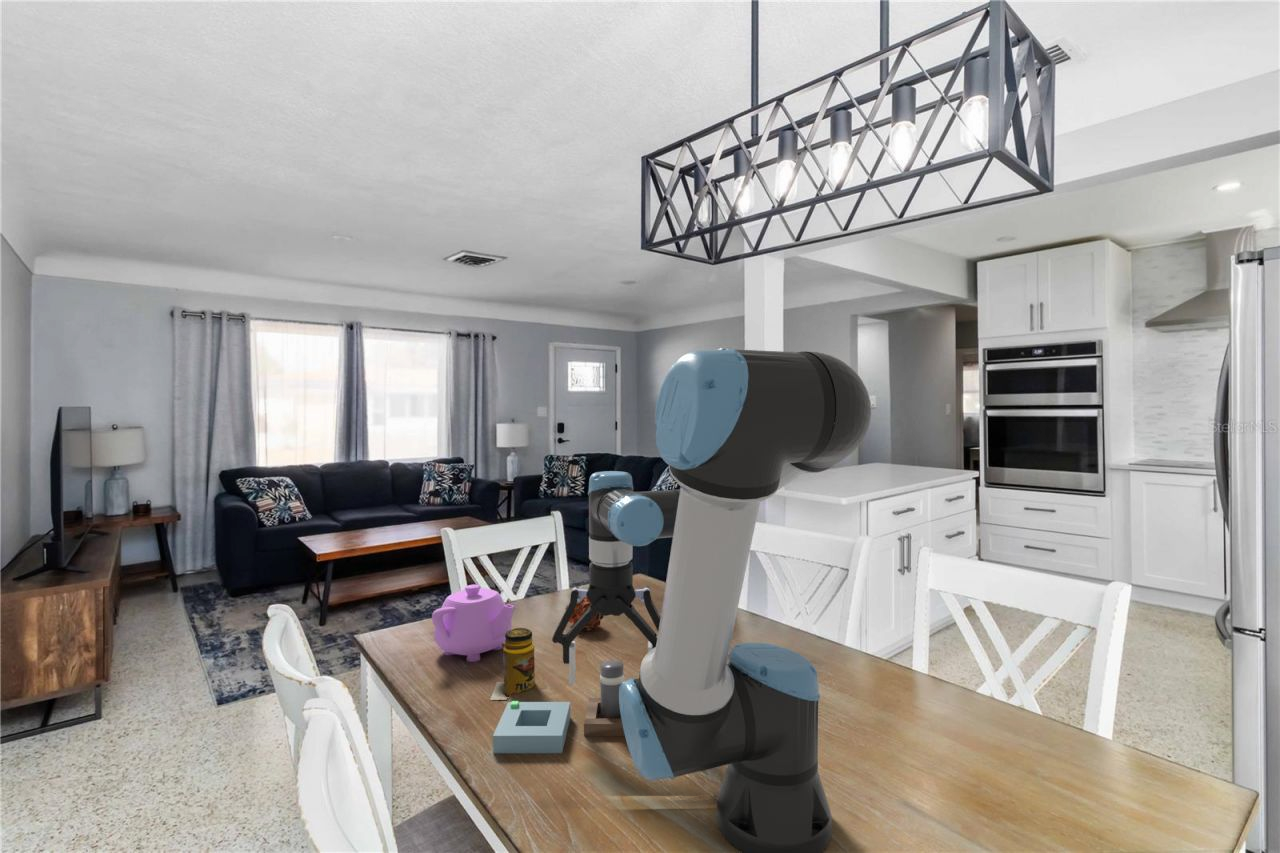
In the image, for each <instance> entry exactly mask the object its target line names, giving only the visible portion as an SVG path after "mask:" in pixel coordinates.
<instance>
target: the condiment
mask: <svg viewBox="0 0 1280 853" xmlns="http://www.w3.org/2000/svg"><path fill="white" fill-rule="evenodd" d="M505 639H506V640H505V641H504V646H503V648H502V650H503V651H502V652H503V654H502V656H503V658H502V659H503V672H502V673H503V681H496V683H495V684H496V685H495V686H494V690H493V692H492V694H491V697H490V699H489V700H490V701H499V700H502V701H505V700H509V699H510V697H511V696H512V695H511V694H513V693H514V694H516V693H517V694H521V693H525V692H528V691H531V690H532V689H533V688H534V687H535V685H536V684H535V683H536V679H535V676H536V674H535V670H536V669H535V667H536V666H535V645H534V642H533V632H532V630H531V629H529V628H525V627H516V628H511V630H509V631H507V632H506V634H505ZM501 694H502V695H501ZM503 695H505V696H506V697H509V698H508V699H507V698H506V697H504V696H503Z"/></svg>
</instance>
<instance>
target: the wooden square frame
mask: <svg viewBox="0 0 1280 853" xmlns="http://www.w3.org/2000/svg"><path fill="white" fill-rule="evenodd" d="M583 737H625V734H624V729H623V724H622V719H621V718H601V697H589V698H588V700H587V706H586V711H585V717H584V723H583Z"/></svg>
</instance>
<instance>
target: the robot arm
mask: <svg viewBox="0 0 1280 853" xmlns="http://www.w3.org/2000/svg"><path fill="white" fill-rule="evenodd" d="M656 401H657V402H656V405H655V406H656V407H655V414H654V425H655V426H656V432H655V434H654V435H655V441H656V446H657V450H658V452H659V455H660V457H661V458H662V460H663V462H665V463H666V464H667V465H668V468H669V469H668V470H669V474H670V475H671V477H672V479H673V480H674V481H675V482H676V483H677V484H678V485H679V486H680V487H679V489H665V490H648V491H647V490H646V491H634V483H633V477H632V474H631V473H629V472H626V471H617V470H609V471H608V470H606V471H605V470H604V471H596V472H594V473H592V474H591V475H590V477H589V481H588V491H587V495H588V532H589V536H588V553H589V554H588V559H589V560H590V561H591V562H590V563H589V565H588V566H589V567H588V568H589V570H588V574H589V575H588V576H589V578H588V579H589V580H588V581H589V583H588V584H589V585H588V589H584V588H580V587H579V586H577V585H575V586H573V587H572V590H571V592H570V598H569V599H570V600H569V603H568V605H567V606H568V607H567V606H566V607H567V609H566V610H565V611H564V613H563V615H562V617H561V619H560V621H559V623H558V625H557V626H556V629H555V631H554V633H553V636H552V639H551V641H552V642H553V643H554V644H560V645H562V660H563V661H562V662H563V664H565V665H566V664H568V666H569V667H568V668H569V671H568V673H569V674H568V675H569V678H568V679H569V681H568V682H569V685H574V684H575V681H576V677H577V676H576V641H575V639H576V638H577V637H578V635H579V634H580V633H581V632H582V631H583V628H584V627H585V626H586V625H587V624H588V622H589V621H590V620H591V619H592V618H593V617H594V616H595V615H596V614H597V613H599V614H601V615H602V616H604V617H606V616H610V615H611V616H615V617H619V616H621V615H623V614H624V615H625V616H626V617H627V619H629V620H630V621H631V622H632V623H633V624H634V625H635V627H636V628H637V629H638V631H639V632H640V633H642V635H643V636H644V637H645V639H647V653H646V654H645V656H644V657H643V659H642V661H641V663H640V668H639V676H638V678H633V677H632V678H628V679H627V680H624V681H623V682H622V684H621V685H620V689H619V705H620V713H621V719H622V724H623V729H624V734H625V736H624V737H625V740H626V745H627V748H628V751H629V753H630V757H631V760H632V763H633V765H634V766H635V768H636V770H637V772H638V773H639V774H640V775H641V777H643V778H644V779H646V780H648V781H651V782H652V781H660V780H664V779H665V780H666V779H671V780H674V779H676V778H678V777H682V776H685V775H690V774H694V773H698V772H702V771H706V770H710V769H715V768H718V767H719V768H720V767H724V766H727V767H726V770H725V773H724V776H723V779H722V782H721V784H720V788H719V791H718V793H717V798H716V822H717V825H718V828H719V830H720V832H721V834H722V835H723V836H724V838H725V839H726V840H727V841H728V842H729V843H730V844H731V845H732V846H734V847H735V848H736V849H738V850H739V851H741V852H743V853H822V852H823V851H824V850H826V848H827V847H828V845H829V843H830V842H831V839H832V812H831V807H830V805H829V802H828V798H827V796H826V793H825V789H824V786H823V783H822V779H821V777H820V773H819V766H818V765H819V759H818V758H819V701H820V696H821V695H820V692H819V681H818V680H819V679H818V671H817V670H816V669H817V668H816V667H815V665H814V664H813V663H812V662H811V661H810V660H809V659H808V658H807V657H806V656H804V655H802V654H801V653H799V652H797V651H794V650H792V649H789V648H786V647H783V646H779V645H775V644H771V643H763V642H743V643H742V642H741V643H738V644H735V645H734V646H732V648H730V647H731V642H732V637H733V633H734V628H735V623H736V618H737V614H738V610H739V604H740V599H741V594H742V591H743V586H744V580H745V576H746V570H747V566H748V562H749V556H750V551H751V547H752V542H753V538H754V537H753V536H754V532H755V529H756V528H755V527H756V523H757V518H758V514H759V508H760V504H761V502H763V501H765V500H767V499H769V498H771V497H773V496H774V495H775V494H776V493H777V492H778V491H779V490H781V489H782V488H784V487H786V486H787V485H789V484H790V483H792V482H793V481H794V480H796V479H797V478H799V477H801V476H802V475H804V474H806V473H807V474H808V473H809V474H818V473H822V472H825V471H826V470H829V469H830V468H832V467H833V466H835V465H837V464H839V463H840V462H841V461H843V460H845V459H846V458H847V457H849V456H850V455H851V454H853V453H854V451H856V450H857V449H858V448H859V446H860V445H861V444H862V442H863V441H864V439H865V437H866V435H867V433H868V430H869V427H870V424H871V417H872V408H871V407H872V405H871V400H870V396H869V391H868V389H867V387H866V386H865V383H864V382H863V380H862V378H861V377H860V376H859V374H858V373H857V372H856V371H855V370H854V369H853V368H852V367H851V366H849V365H848V364H847V363H846V362H845V361H843V360H841V359H839V358H837V357H834V356H833V355H830V354H827V353H824V352H823V353H822V352H818V351H780V350H779V351H777V350H775V351H774V350H756V349H755V350H754V349H733V348H730V347H722V348H719V349H712V350H711V349H709V350H708V349H707V350H694V351H690V352H688V353H686V354H684V355H683V356H681V357H680V358H678V360H677V361H676V362H675V363H674V364H672V366H671V367H670V369H669V370H668V372H667V374H666V375H665V377H664V380H663V381H662V385H661V386H660V390H659V394H658V397H657V400H656ZM667 538H672V540H671V547H670V555H669V561H668V567H667V574H666V581H665V586H664V594H663V599H662V606H661V611H660V612H661V613H659V611H658V608H657V607H656V605H655V604H654V601H653V599H652V592H651V587H650V586H644V587H643V588H641V589H640V588H639V589H638V588H637V589H635V588H634V585H633V582H634V581H633V576H634V575H633V570H634V567H633V566H634V564H633V562H632V561H631V560H633V554H634V553H633V549H634V548H633V547H643V546H644V547H645V546H648V545H649V544H651V543H652V542H654V541H656V540H657V539H667ZM584 597H587V599H588V600H589V601H590V603H591V605H590V607H589V608H588V610H587V611H586V612H585V613H584V614H583V615H582V617H581V618H580V619H579V620H578V621H577V622H576V624H575V625H574V626H573V625H572V627H571V628H570V630H569V631H568V632H567V633H565V634H564V631H565V629H566V628H567V626H568V624H569V623H570V622H569V620H570V618H571V616H572V614H573V612H574V610H575V608H576V605H577V602H581V601H582V599H583V598H584ZM636 598H638V600H639V601H640V602H641V603H644V605H645V608H646V610H647V612H648V615H649V616H650V618H651V620H652V622H653V624H654V626H655V628H656V631H657V633H656V631H655V630H654V629H653V628H652V627H651V626H650V624H648V623H647V621H646V620H645V619H644V618H643V617H642V615H641V614H640V613H639V612H638V611H637V610H636V608H635V606H634V605H633V604H632V603H633V601H634V600H635V599H636Z"/></svg>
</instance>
